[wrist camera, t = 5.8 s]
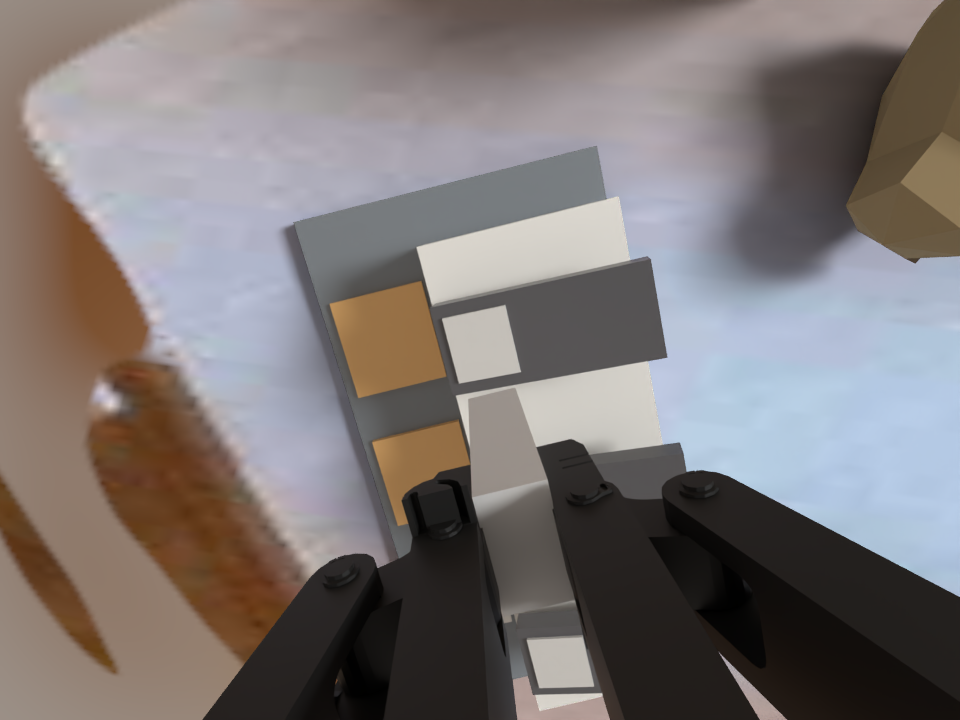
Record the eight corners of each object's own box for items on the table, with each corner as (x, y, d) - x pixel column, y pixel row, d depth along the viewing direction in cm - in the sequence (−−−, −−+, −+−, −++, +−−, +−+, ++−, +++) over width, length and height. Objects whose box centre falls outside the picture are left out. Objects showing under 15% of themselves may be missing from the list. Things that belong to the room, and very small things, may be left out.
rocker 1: (647, 256, 24) (651, 259, 23) (663, 350, 25) (667, 358, 24) (435, 303, 27) (428, 308, 25) (458, 388, 28) (452, 397, 26)
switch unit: (592, 148, 32) (636, 120, 24) (681, 628, 40) (736, 726, 32) (298, 222, 33) (246, 219, 25) (442, 684, 41) (438, 795, 33)
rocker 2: (706, 601, 28) (711, 620, 27) (718, 671, 29) (723, 692, 28) (518, 613, 31) (515, 631, 30) (535, 677, 32) (532, 697, 31)
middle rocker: (679, 442, 26) (683, 455, 25) (693, 523, 27) (698, 539, 26) (480, 469, 29) (475, 481, 28) (499, 542, 30) (495, 557, 29)
